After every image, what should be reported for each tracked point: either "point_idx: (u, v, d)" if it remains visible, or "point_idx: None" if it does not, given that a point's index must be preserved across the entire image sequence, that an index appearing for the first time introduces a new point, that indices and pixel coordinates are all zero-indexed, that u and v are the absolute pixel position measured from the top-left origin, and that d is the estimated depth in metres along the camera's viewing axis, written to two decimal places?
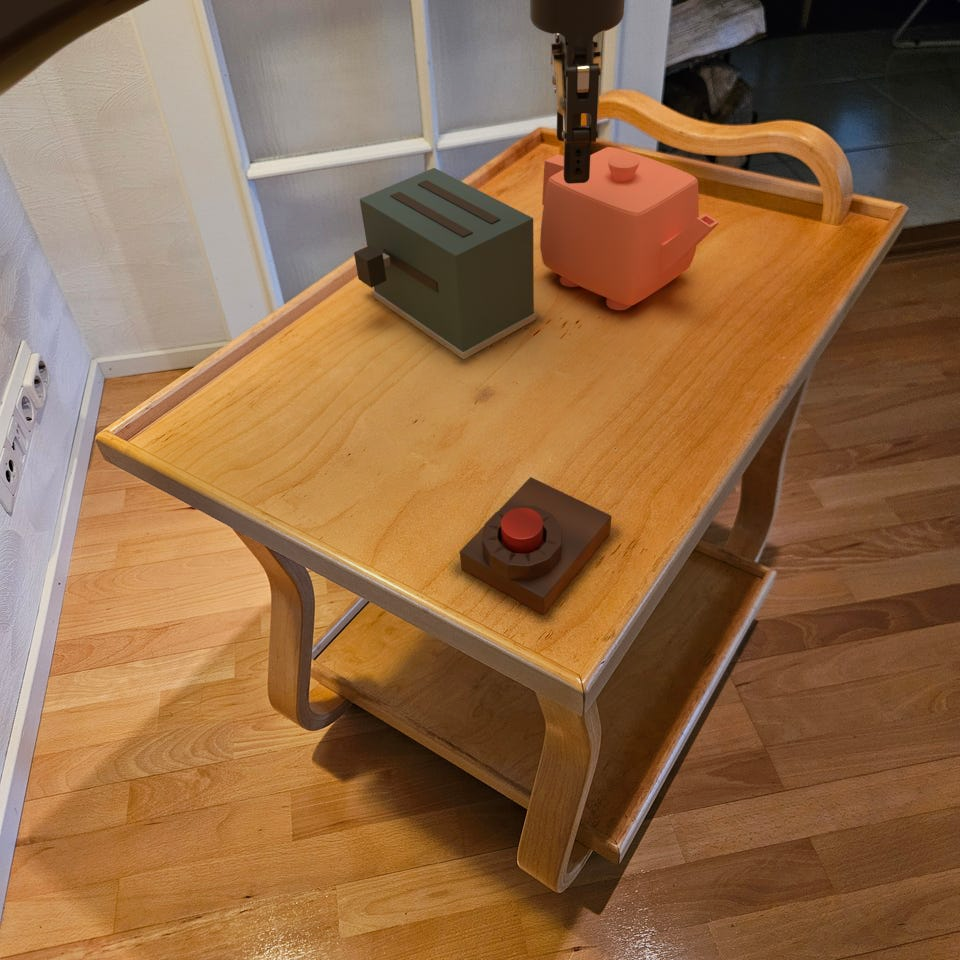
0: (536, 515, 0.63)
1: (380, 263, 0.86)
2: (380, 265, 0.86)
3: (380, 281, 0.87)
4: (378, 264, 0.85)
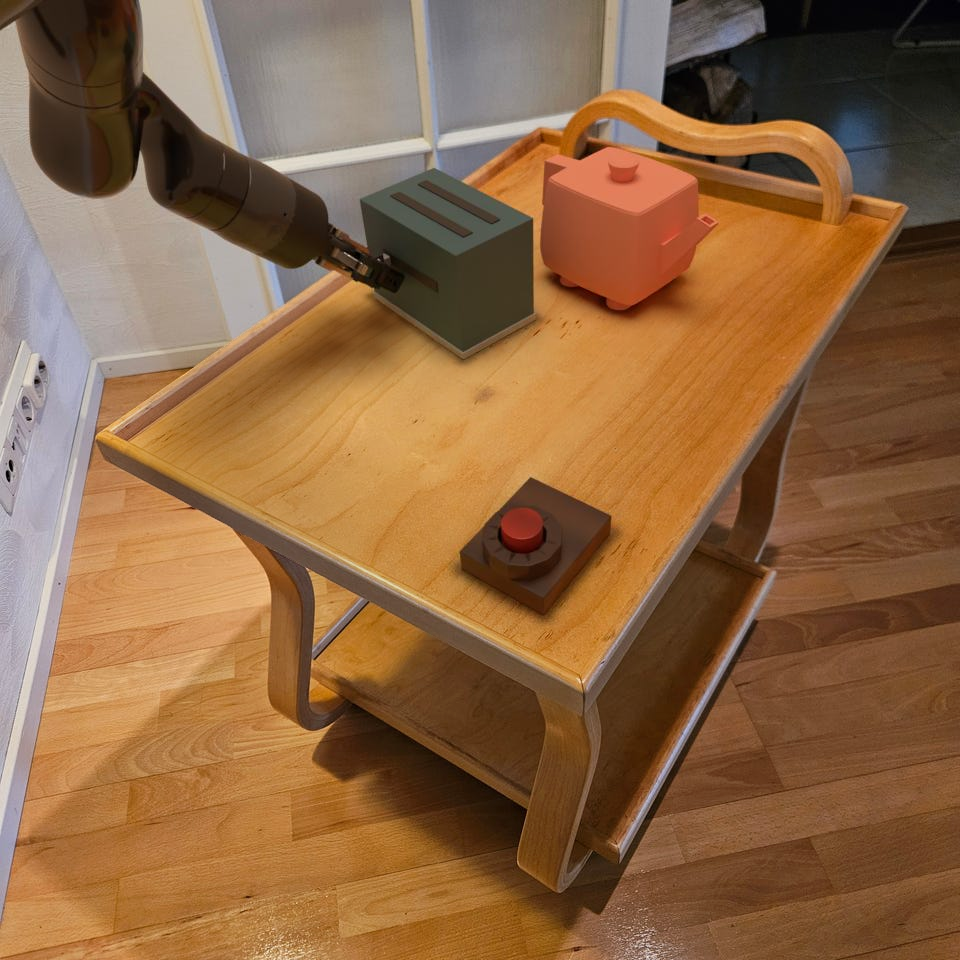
0: (536, 515, 0.63)
1: None
2: None
3: None
4: None
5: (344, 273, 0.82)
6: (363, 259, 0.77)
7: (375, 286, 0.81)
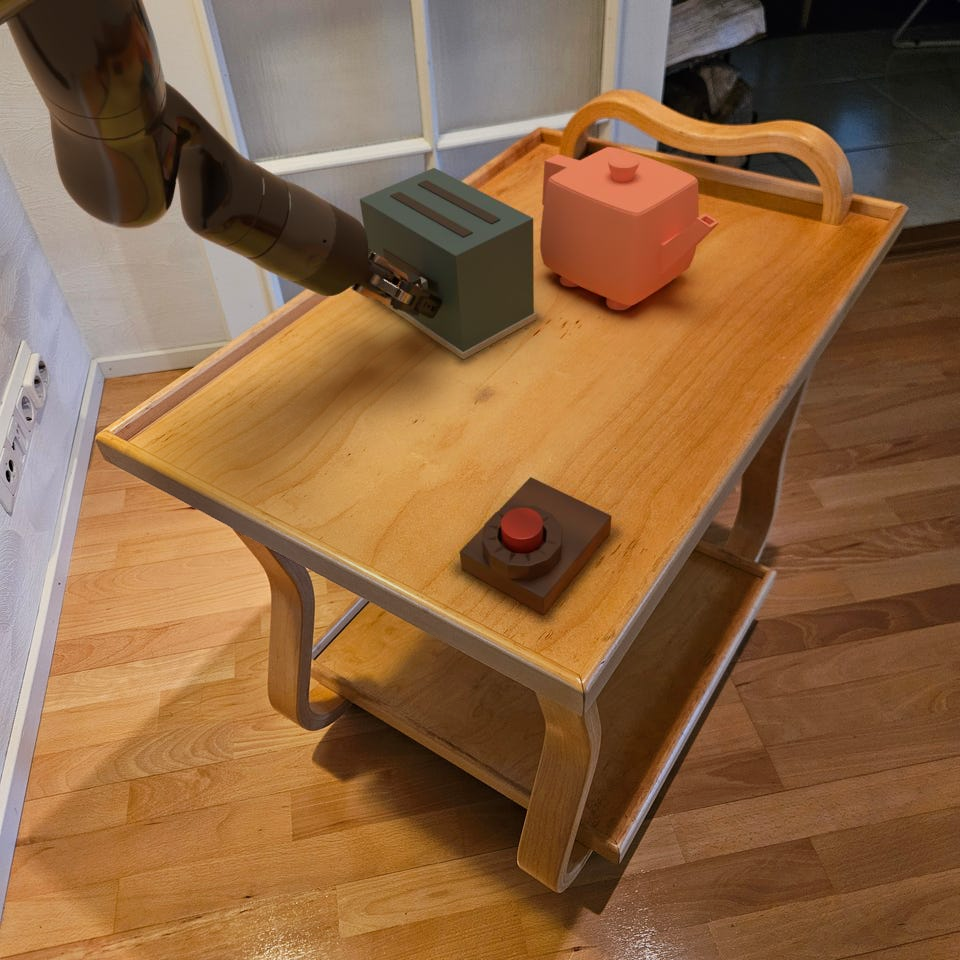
0: (536, 515, 0.63)
1: None
2: None
3: None
4: None
5: (382, 299, 0.78)
6: (404, 286, 0.74)
7: (414, 313, 0.78)
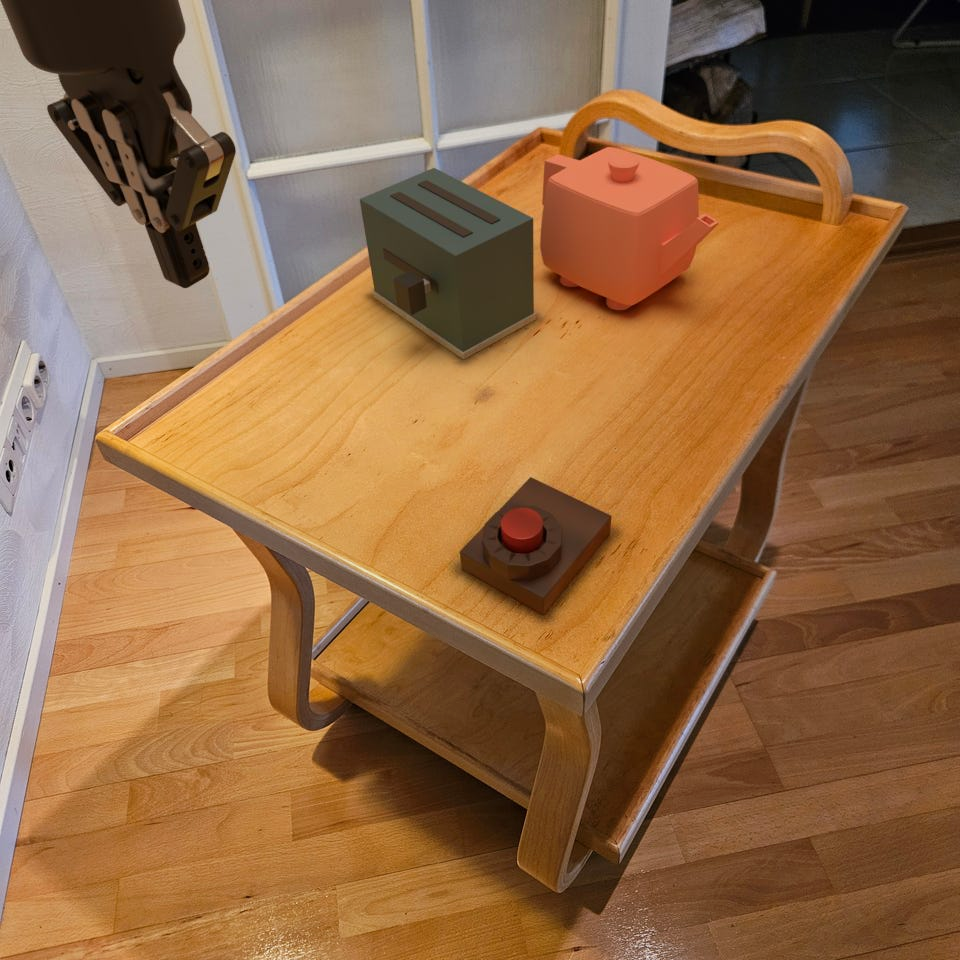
0: (536, 515, 0.63)
1: (421, 290, 0.82)
2: (421, 292, 0.82)
3: (420, 308, 0.83)
4: (419, 291, 0.82)
5: (141, 171, 0.42)
6: (223, 139, 0.40)
7: (187, 215, 0.42)
